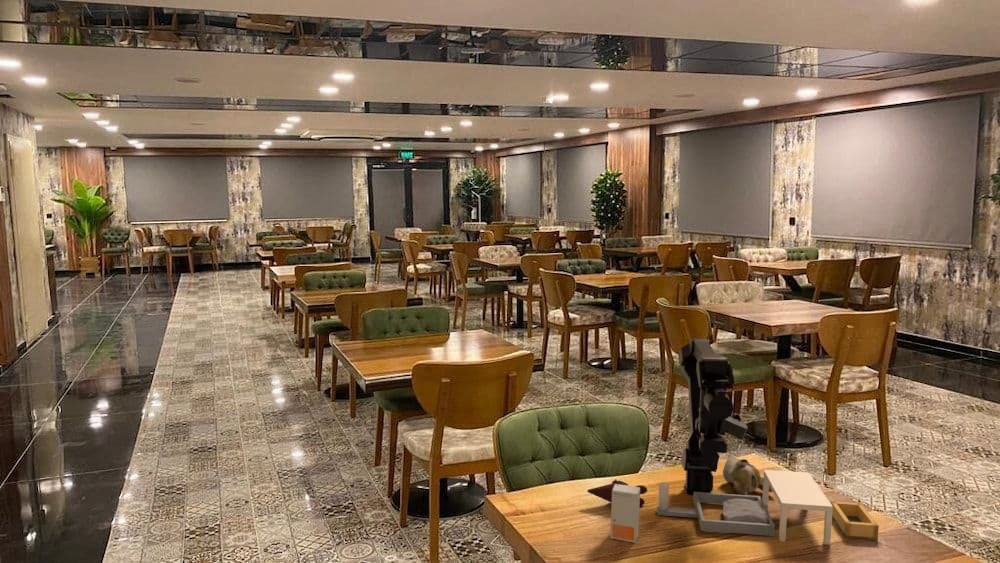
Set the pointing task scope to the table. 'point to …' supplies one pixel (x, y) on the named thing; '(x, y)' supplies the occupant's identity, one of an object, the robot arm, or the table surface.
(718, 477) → the table surface
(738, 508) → the stone block
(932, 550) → the table surface
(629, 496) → the skincare box
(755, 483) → the ceramic sculpture
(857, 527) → the tan wooden open box
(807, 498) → the white miniature table
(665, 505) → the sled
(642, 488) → the icecream
